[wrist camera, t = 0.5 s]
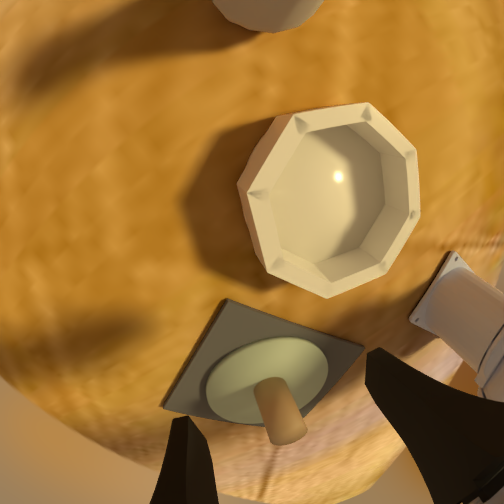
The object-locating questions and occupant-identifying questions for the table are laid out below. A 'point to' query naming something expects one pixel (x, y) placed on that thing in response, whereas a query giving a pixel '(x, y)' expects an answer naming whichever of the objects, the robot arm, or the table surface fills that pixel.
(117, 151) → the table surface
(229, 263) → the table surface
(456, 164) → the table surface
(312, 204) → the bowl
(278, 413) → the lid
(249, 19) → the salt shaker
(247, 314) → the mat
